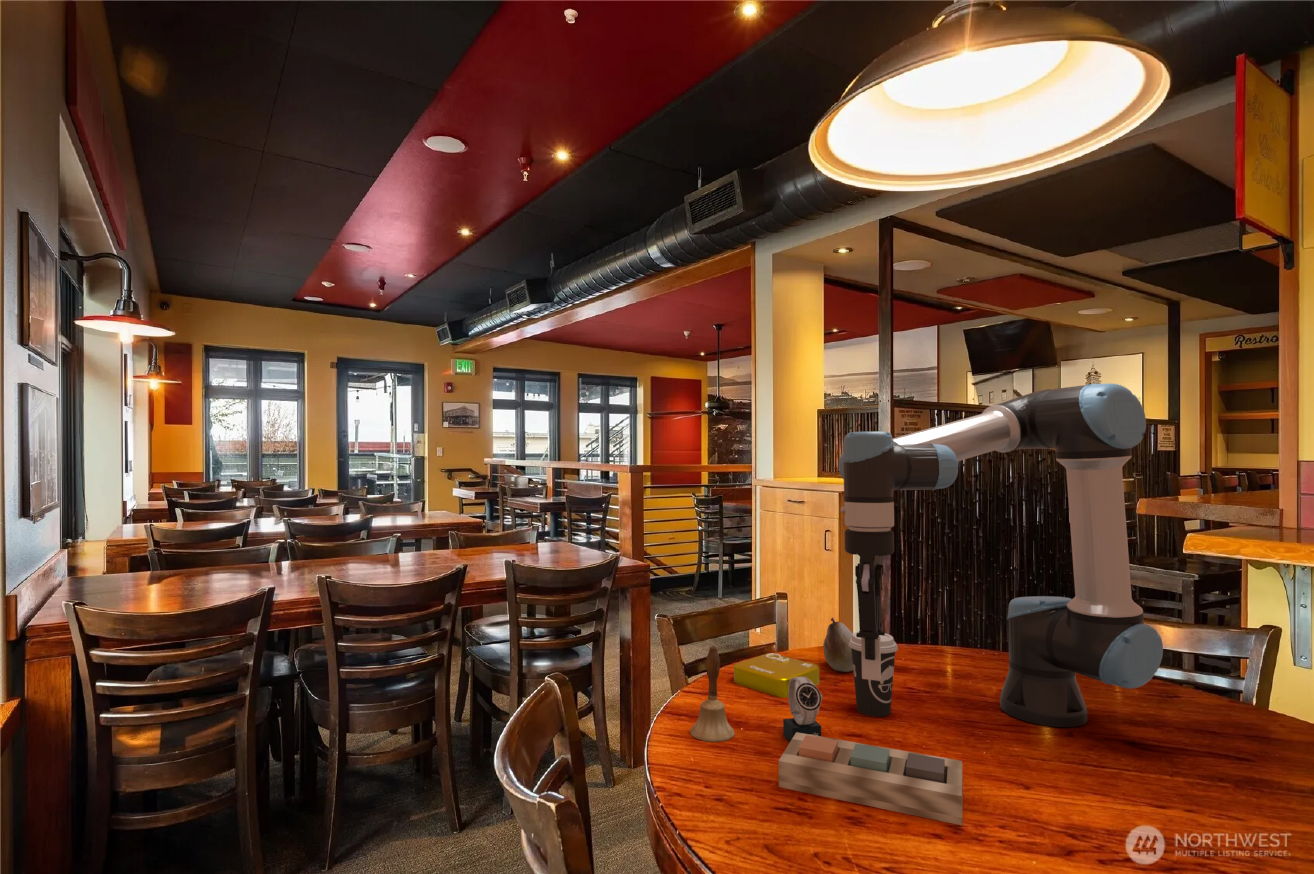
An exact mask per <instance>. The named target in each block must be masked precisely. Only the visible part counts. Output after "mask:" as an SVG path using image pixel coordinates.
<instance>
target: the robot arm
mask: <svg viewBox="0 0 1314 874" xmlns="http://www.w3.org/2000/svg"><path fill="white" fill-rule="evenodd" d="M1146 429H1147V419H1146V413H1145V410H1144V407H1143V405H1142V404H1141V401H1140V400H1139V397H1137V396H1136V394H1133V393H1132V391H1131V390H1130V389H1128V387H1125V386H1123V385H1122V384H1118V383H1091V384H1084V385H1077V386H1069V387H1068V386H1067V387H1062V388H1061V387H1060V388H1053V389H1051V388H1049V389H1048V388H1047V389H1040V390H1038V391H1034V392H1030V393H1027V394H1023V395H1021V396H1018V397H1015V398H1011V399H1010V400H1006V401H1003V402H1001V403H997V404H994V405H990V406H988V407H987V408H985V409H984V410H983V411H982V413H980V414H976V415H974V416H973V415H972V416H969V417H965V418H962V419H958V420H955V421H951V422H948V423H947V422H946V423H945V424H941V425H937V426H933V427H929V428H926V429H922V430H918V431H915V432H911V433H907V434H904V435H899V436H896V437H894V438H893V436H892V433H890V432H889V431H880V430H879V431H853V432H848V433H847V434H846V435H845V436H844V438H843V444H842V453H841V455H840V457H839V460H838V471H839V474H840V477H841V478H842V479H843V500H844V503H843V505H844V506H841V507H840V512H841V513H843V514H844V513H845V514H844V525H845V526H846V527H848V528H847V529H845V530H844V534H843V535H844V550H845V552H846V553H847V554H849V555H854V556H855V555H858V557H859V561H858V562H859V563H857V565H855V567H854V569H855V573H854V575H855V577H856V580H855V584H856V589H857V590H856V592H857V603H858V604H857V606H858V625H859V627H858V628H859V630H858V631H857V634H856V636H857V637H859V638H861V648H862V679H868V680H876V681H880V679H881V651H880V637H879V635H882V636H885V634H886V630H881V628H882V626H883V625H882V590H883V575H884V574H885V572H884V571H885V570H884V569H885V568H884V567H885V566H884V564H880V557H886V556H889V555H893V554H894V552H895V533H894V531H893V530H892V529H891V528H893V527H894V526H895V502H894V491H914V490H915V491H916V490H917V491H919V490H921V491H922V490H929V491H930V490H931V491H935V490H939V489H941V490H942V489H945V488H948V487H950V486H951V485H953V483H954V482H955V481H956V480H957V478H958V474H959V469H958V468H959V462H960V461H964V460H966V459H967V460H968V459H971V458H975V457H976V456H980V455H984V454H987V453H990V452H994V451H995V452H998V453H1002V454H1003V453H1009V452H1012V451H1015V450H1030V449H1031V450H1032V449H1033V450H1034V449H1038V450H1041V449H1042V450H1044V449H1045V450H1054V451H1055V452H1054V453H1055V460H1056V462H1058V463H1059V464H1060V465H1062V466H1063V467H1064V468H1065V470H1066V471H1065V472H1066V473H1065V474H1066V483H1067V484H1066V486H1067V498H1068V511H1069V524H1070V526H1069V527H1070V537H1071V539H1070V540H1071V553H1072V565H1073V567H1072V568H1073V579H1074V580H1073V581H1074V594H1075V596H1074V597H1073V598H1070V597H1067V596H1066V597H1065V596H1052V595H1051V596H1046V595H1044V596H1041V595H1040V596H1039V595H1038V596H1020V597H1015V598H1013V599H1011V600H1010V602H1009V604H1008V612H1007V613H1008V614H1007V619H1006V620H1007V637H1008V639H1007V641H1008V662H1009V663H1008V672H1007V675H1006V678H1005V680H1004V683H1003V687H1002V690H1001V692H1000V695H999V698H1000V700H999V704H1000V705H999V706H1000V709H1001V710H1002V711H1003V712H1005V713H1006V714H1008V715H1009V716H1011V717H1014V718H1016V719H1019V720H1021V721H1025V722H1028V723H1031V724H1036V725H1040V726H1041V725H1042V726H1047V727H1057V728H1075V727H1080V726H1083V725H1085V724H1087V722H1088V708H1087V706H1086V703H1085V700H1084V697H1083V695H1082V692H1081V689H1080V687H1079V684H1078V681H1077V676H1076V674H1079V675H1082V676H1085V677H1087V678H1090V679H1094V680H1097V681H1099V682H1102V683H1104V684H1106V685H1108V686H1109V685H1110V686H1117V687H1120V688H1124V689H1129V690H1130V689H1137V688H1140V687H1142V686H1144V685H1146V684H1147V683H1148V682H1150V681H1151V680H1152V679H1153V677H1154V676H1155V674H1156V673H1157V672H1158V670H1159V668H1160V665H1161V663H1162V660H1163V653H1164V645H1163V644H1164V643H1163V639H1162V636H1161V635H1160V634H1159V632H1158V630H1156V629H1155V628H1154V627H1152V626H1150V625H1149V624H1147V623H1145V620H1144V618H1145V617H1144V610H1143V607H1142V606H1140V605H1139V604H1137V603H1136V602H1134V600H1133V598H1132V585H1131V584H1132V583H1131V573H1130V572H1131V570H1130V556H1129V555H1130V554H1129V546H1128V545H1129V544H1128V543H1129V542H1128V531H1127V517H1126V502H1125V491H1124V490H1125V489H1124V476H1123V467H1124V465H1125V464H1126V463H1127V462H1128V461H1129V460H1131V458H1132V449H1133V448H1134V447H1136V446H1137V445H1138V444H1140V443H1141V441H1142V440H1143V439H1144V436H1143V435H1144V434H1146ZM858 632H859V633H858Z"/></svg>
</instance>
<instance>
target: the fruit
mask: <svg viewBox="0 0 1314 874" xmlns="http://www.w3.org/2000/svg"><path fill="white" fill-rule="evenodd" d="M830 620H831V622H832V623H830V624H829V625H828V626H827V630H826V635H825V637H824V640H823V644H822V645H823V646H822V647H823V648H822V649H823V656H824V660H825V661H826V662H827V664H828V665H829V667H831V669H833V670H834V671H836V672H843V673H849V672H853V662H852V652H851V647H849V641H850V639H851V638H852V635H853V634H854V632H852V631H851V630H850V629H849V628H848V626H846V625H845V624H844V623H843V622H841V621H836V620H835V618H834V617H831V619H830Z"/></svg>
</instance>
